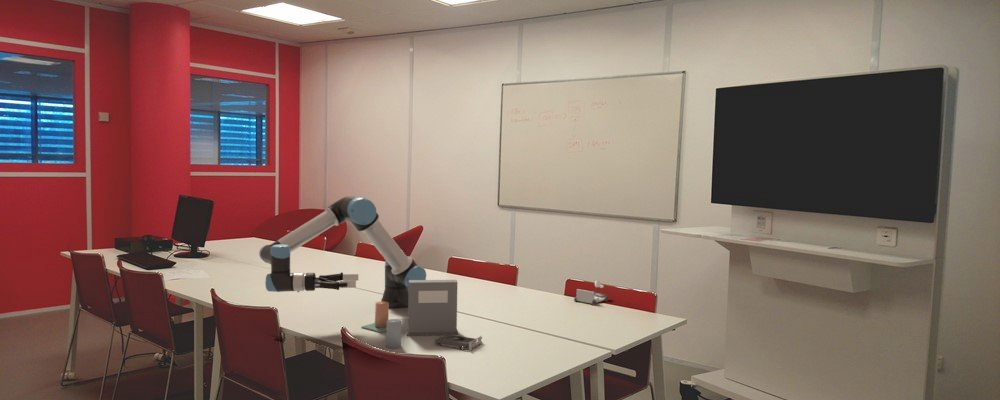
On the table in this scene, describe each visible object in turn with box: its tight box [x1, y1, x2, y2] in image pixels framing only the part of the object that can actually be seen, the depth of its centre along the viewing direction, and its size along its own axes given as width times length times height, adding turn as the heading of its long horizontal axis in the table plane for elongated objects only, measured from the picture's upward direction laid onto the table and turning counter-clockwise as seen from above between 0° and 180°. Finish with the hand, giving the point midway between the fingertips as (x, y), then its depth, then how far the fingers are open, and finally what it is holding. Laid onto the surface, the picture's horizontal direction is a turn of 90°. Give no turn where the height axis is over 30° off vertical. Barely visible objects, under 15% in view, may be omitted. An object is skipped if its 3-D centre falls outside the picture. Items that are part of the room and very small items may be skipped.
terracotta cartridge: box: [374, 300, 390, 328], centre depth 261 cm, size 6×6×10 cm
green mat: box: [361, 322, 403, 334], centre depth 261 cm, size 12×12×1 cm
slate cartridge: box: [385, 318, 402, 350], centre depth 235 cm, size 6×6×10 cm
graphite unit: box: [406, 279, 459, 337], centre depth 254 cm, size 7×21×22 cm, turn 99°
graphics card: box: [434, 334, 483, 352], centre depth 240 cm, size 17×4×12 cm
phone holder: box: [573, 280, 610, 306], centre depth 320 cm, size 18×10×12 cm
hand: (357, 280), depth 258 cm, fingers open, 13 cm apart
